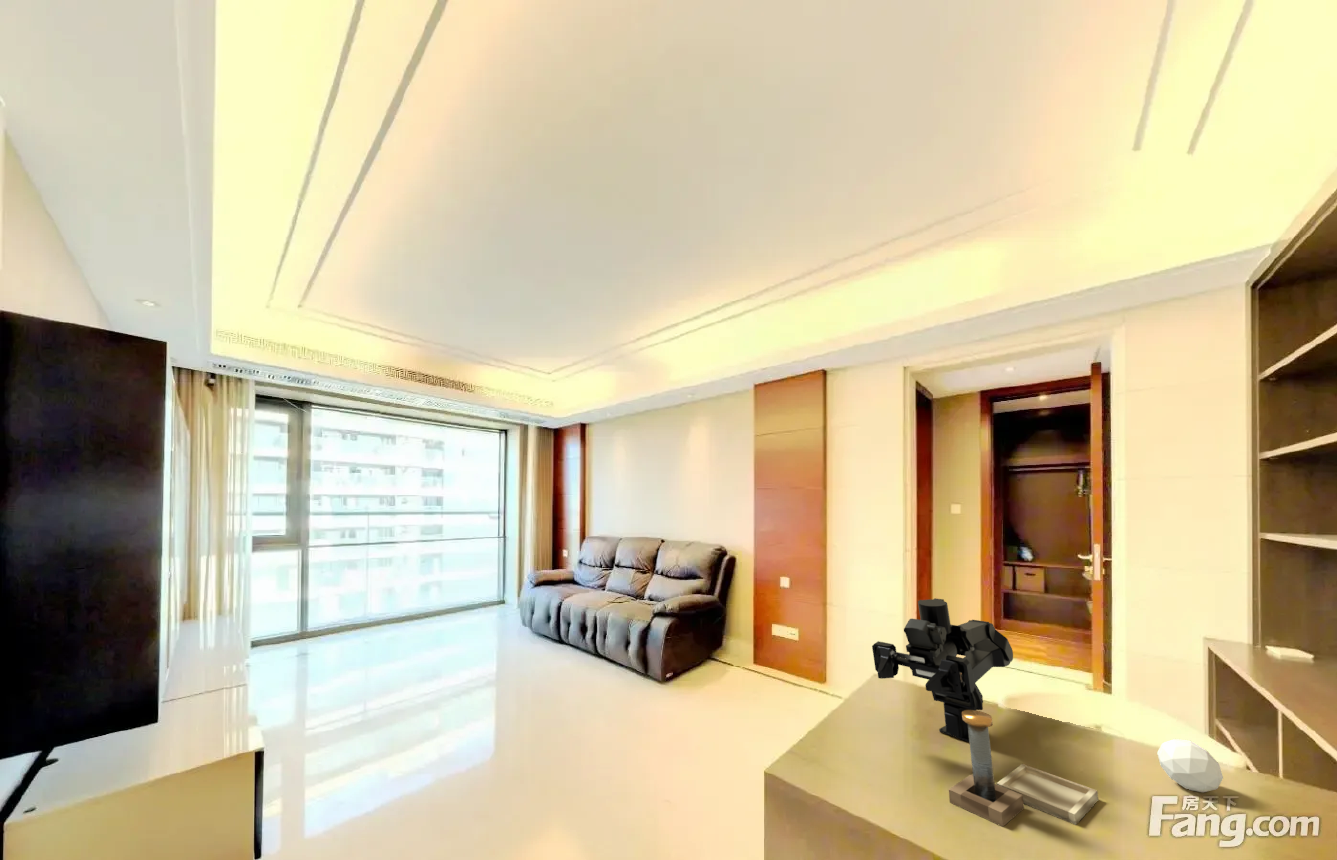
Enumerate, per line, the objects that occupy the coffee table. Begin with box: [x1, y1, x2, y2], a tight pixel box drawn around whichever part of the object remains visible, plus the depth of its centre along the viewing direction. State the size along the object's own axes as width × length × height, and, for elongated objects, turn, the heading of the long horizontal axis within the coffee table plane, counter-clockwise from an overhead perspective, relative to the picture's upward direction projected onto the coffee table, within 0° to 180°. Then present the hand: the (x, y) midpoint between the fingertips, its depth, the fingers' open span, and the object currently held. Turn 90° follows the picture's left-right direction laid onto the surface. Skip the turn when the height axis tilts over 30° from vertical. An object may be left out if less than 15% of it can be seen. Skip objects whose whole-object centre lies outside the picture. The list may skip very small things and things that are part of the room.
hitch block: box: [948, 774, 1025, 827], centre depth 82 cm, size 8×8×2 cm
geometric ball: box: [1157, 738, 1224, 793], centre depth 86 cm, size 8×8×8 cm
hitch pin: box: [962, 710, 996, 802], centre depth 83 cm, size 4×4×14 cm
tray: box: [996, 763, 1100, 826], centre depth 84 cm, size 11×11×2 cm
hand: (901, 681), depth 94 cm, fingers open, 9 cm apart
